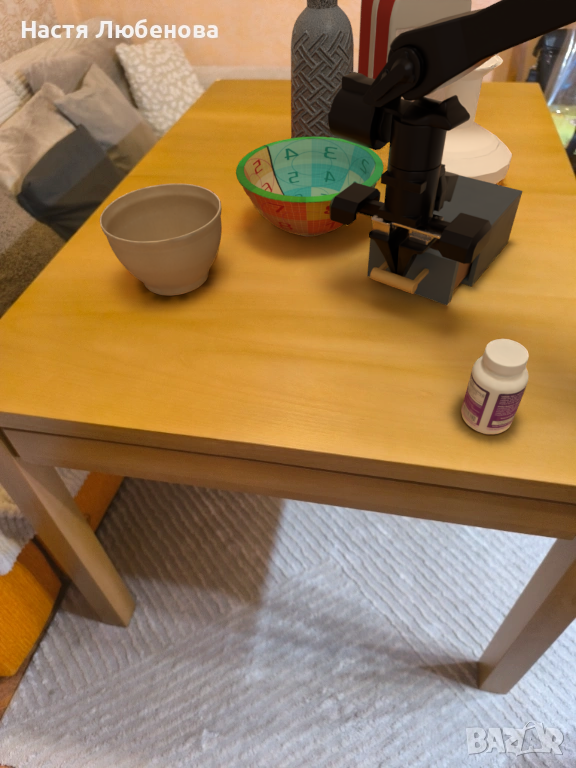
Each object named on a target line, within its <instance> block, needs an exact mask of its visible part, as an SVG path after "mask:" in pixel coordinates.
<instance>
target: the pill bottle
mask: <svg viewBox="0 0 576 768" xmlns="http://www.w3.org/2000/svg"><path fill="white" fill-rule="evenodd" d="M529 357H530V354H529V351H528V349H527V348H526V347H525V346H524V345H523V344H521V343H520V342H519V341H516V340H513V339H510V338H497V339H492V340H490V342H488V343H487V344H486V346H485V348H484V351H483V353H482V355H481V356H480V357H478V358H477V359H476V360H475V362H474V363H473V365H472V368H471V372H470V374H469V375H470V376H469V379H468V383H467V387H466V389H465V393H464V397H463V401H462V405H461V408H460V409H461V411H460V413H461V417H462V419H463V421H464V422H465V424H466V425H467V426H468V427H470V428H471V429H473V430H474V431H476V432H477V433H481V434H484V435H498V434H501V433H504V432H506V431H507V430H508V429H509V428H510V427H511V425H512V424H513V422H514V419H515V417H516V414H517V411H518V409H519V406H520V404H521V401H522V398H523V396H524V393H525V391H526V388H527V387H528V384H529V377H530V376H529V371H528V368H527V364H528V361H529Z"/></svg>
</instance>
